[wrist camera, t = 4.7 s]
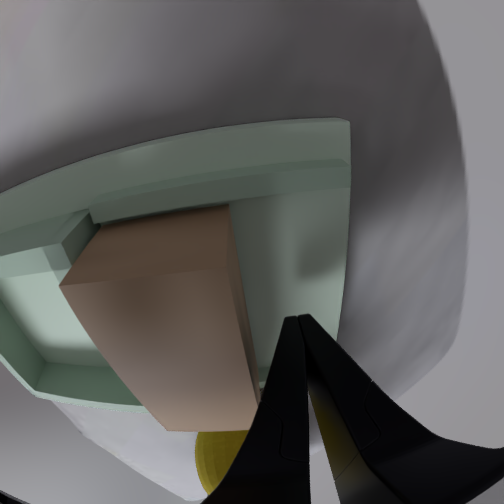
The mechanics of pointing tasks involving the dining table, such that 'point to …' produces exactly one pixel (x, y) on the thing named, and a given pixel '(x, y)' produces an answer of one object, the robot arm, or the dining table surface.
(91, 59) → the dining table surface
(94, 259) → the tan rectangular block
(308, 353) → the robot arm
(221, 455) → the lemon
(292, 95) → the dining table surface
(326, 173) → the tray
